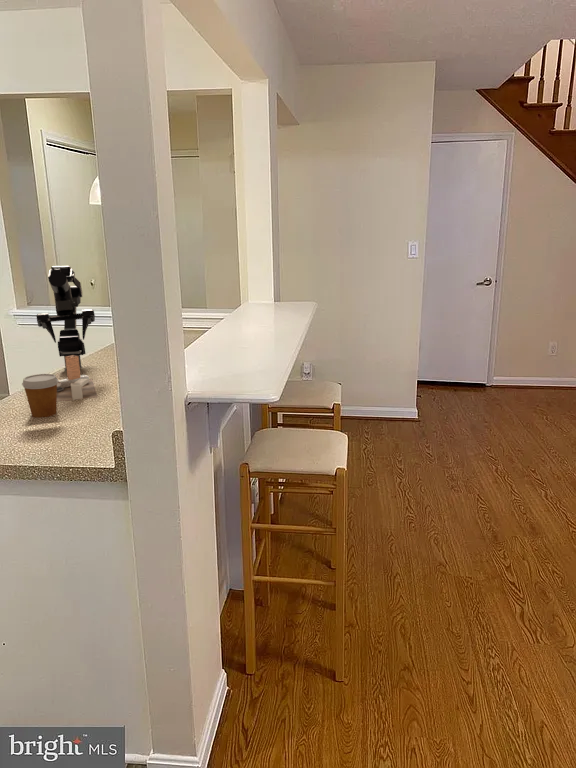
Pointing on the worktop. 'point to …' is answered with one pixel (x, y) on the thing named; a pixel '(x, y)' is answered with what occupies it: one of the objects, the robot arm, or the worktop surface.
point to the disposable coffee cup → (41, 394)
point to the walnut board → (87, 392)
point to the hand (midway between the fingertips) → (69, 340)
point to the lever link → (71, 372)
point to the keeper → (78, 388)
